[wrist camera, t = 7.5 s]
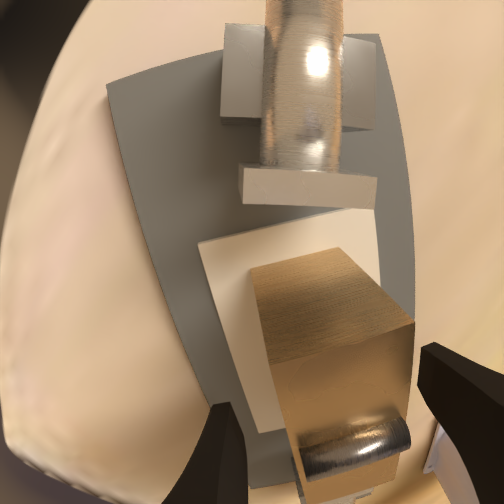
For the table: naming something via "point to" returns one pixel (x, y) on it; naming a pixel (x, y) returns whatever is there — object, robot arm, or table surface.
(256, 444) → the coupling base
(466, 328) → the table surface
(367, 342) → the block
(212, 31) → the table surface
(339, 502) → the shaft
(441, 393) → the robot arm
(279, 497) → the table surface
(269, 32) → the shaft
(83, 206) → the table surface
